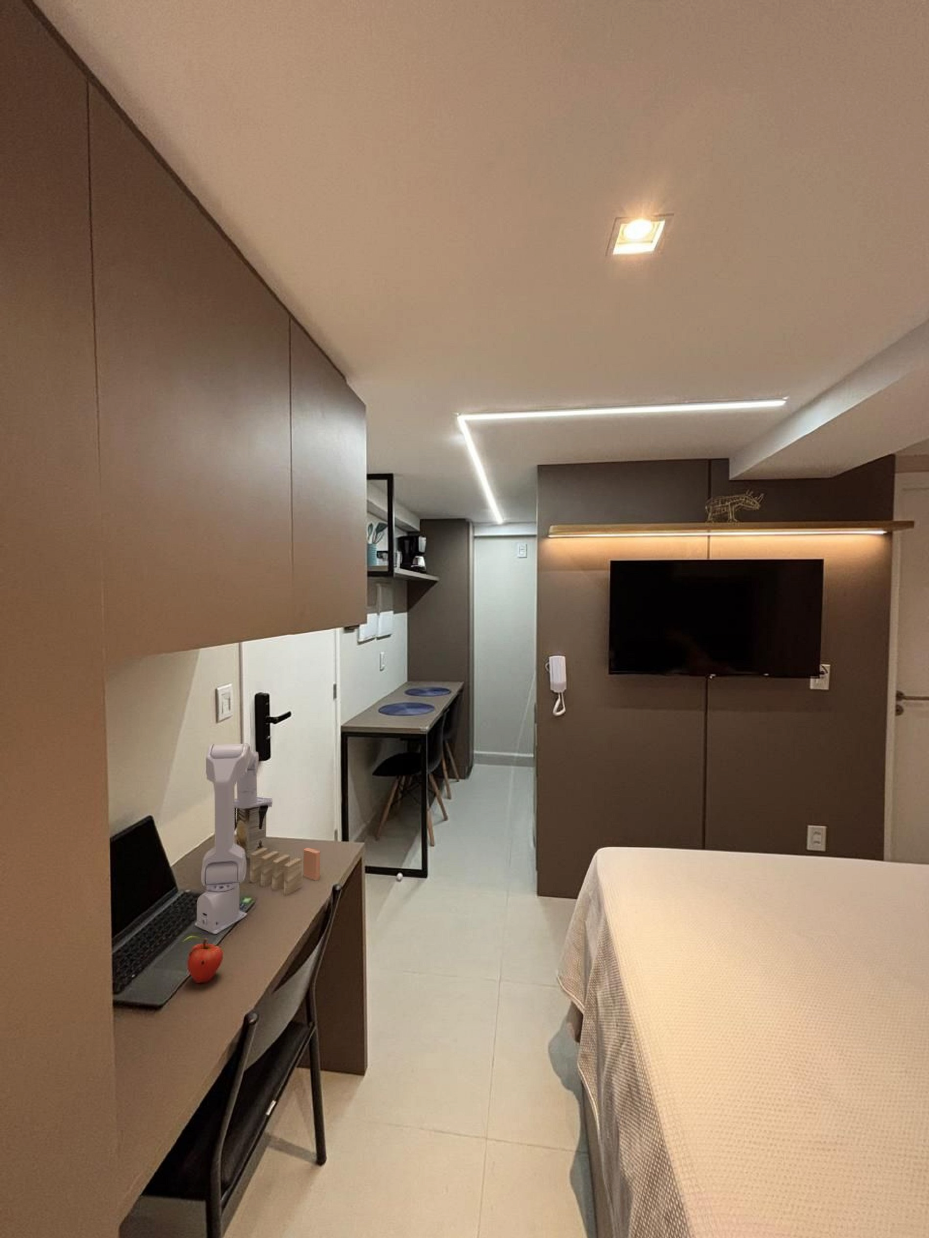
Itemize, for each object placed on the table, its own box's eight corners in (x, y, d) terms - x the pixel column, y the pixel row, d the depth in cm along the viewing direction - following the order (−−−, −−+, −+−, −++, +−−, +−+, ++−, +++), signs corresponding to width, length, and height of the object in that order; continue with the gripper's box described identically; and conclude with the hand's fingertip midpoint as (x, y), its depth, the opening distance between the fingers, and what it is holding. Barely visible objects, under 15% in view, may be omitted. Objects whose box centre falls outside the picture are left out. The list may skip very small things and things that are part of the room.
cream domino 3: (289, 882, 155) (289, 855, 155) (276, 890, 151) (276, 862, 151) (285, 881, 156) (285, 854, 156) (272, 889, 152) (272, 861, 151)
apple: (213, 963, 120) (214, 919, 119) (228, 977, 115) (228, 931, 115) (177, 981, 114) (177, 934, 114) (191, 996, 109) (191, 948, 109)
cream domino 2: (278, 878, 157) (278, 851, 157) (264, 886, 153) (265, 858, 153) (274, 877, 158) (274, 850, 158) (260, 885, 154) (261, 857, 153)
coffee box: (235, 849, 176) (235, 801, 175) (254, 843, 180) (254, 796, 180) (247, 859, 169) (248, 808, 169) (267, 852, 174) (267, 803, 174)
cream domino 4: (301, 886, 153) (301, 859, 153) (287, 894, 149) (288, 866, 149) (297, 885, 154) (297, 857, 154) (283, 893, 149) (284, 864, 149)
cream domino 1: (267, 875, 159) (267, 848, 159) (253, 882, 155) (254, 855, 155) (263, 873, 160) (263, 847, 160) (249, 881, 156) (250, 853, 156)
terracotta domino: (316, 880, 157) (316, 853, 157) (303, 876, 159) (303, 849, 159) (319, 878, 158) (320, 851, 158) (307, 874, 160) (307, 847, 160)
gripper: (273, 780, 170) (274, 819, 173) (224, 782, 167) (225, 822, 170) (270, 791, 163) (270, 832, 166) (219, 794, 160) (220, 835, 163)
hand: (247, 828), depth 167 cm, fingers open, 7 cm apart
